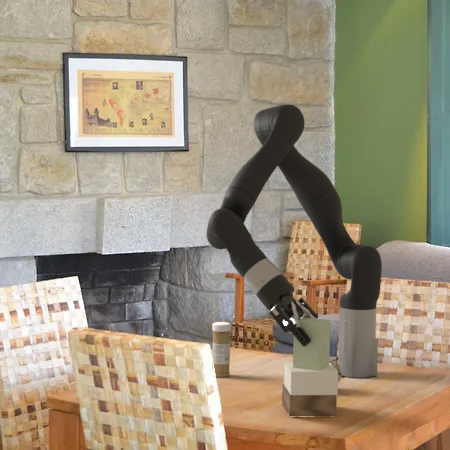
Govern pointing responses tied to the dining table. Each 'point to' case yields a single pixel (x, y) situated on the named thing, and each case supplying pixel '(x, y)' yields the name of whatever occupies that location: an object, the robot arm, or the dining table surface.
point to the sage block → (313, 345)
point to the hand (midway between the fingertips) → (315, 340)
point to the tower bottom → (308, 404)
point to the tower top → (310, 380)
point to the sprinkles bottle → (221, 348)
